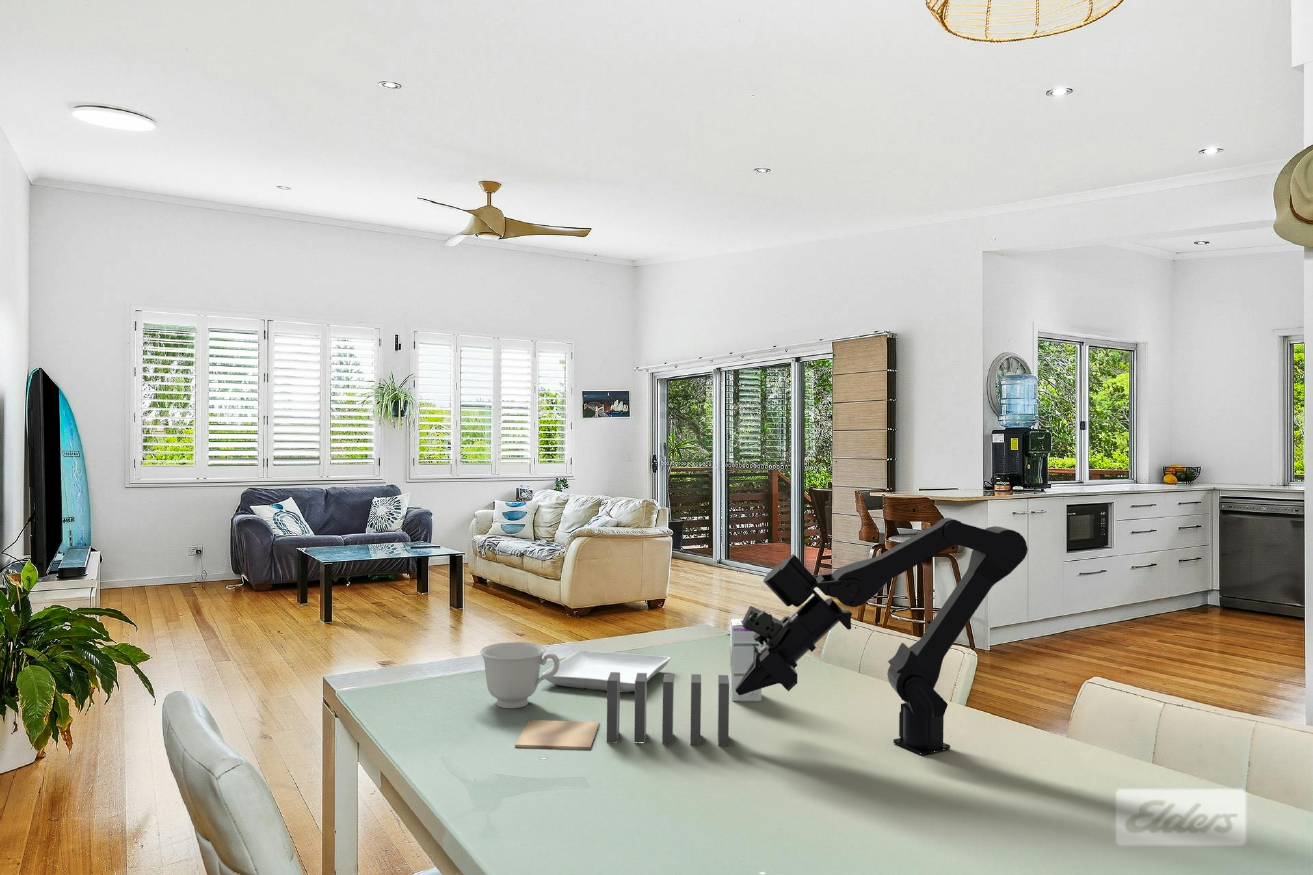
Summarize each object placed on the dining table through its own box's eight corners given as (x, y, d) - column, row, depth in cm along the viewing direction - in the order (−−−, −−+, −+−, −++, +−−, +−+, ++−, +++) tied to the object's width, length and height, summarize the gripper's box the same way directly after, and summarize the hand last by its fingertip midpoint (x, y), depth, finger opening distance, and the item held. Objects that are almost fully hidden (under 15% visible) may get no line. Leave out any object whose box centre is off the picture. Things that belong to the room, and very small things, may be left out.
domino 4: (700, 734, 141) (701, 674, 141) (700, 745, 136) (701, 682, 136) (690, 734, 141) (691, 674, 141) (690, 744, 136) (691, 682, 136)
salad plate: (539, 689, 166) (539, 672, 166) (579, 663, 187) (579, 648, 187) (641, 700, 160) (641, 682, 160) (672, 672, 180) (672, 656, 181)
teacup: (547, 717, 148) (548, 660, 148) (468, 711, 151) (469, 655, 151) (568, 697, 160) (569, 644, 160) (494, 692, 163) (495, 640, 163)
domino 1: (619, 732, 141) (620, 672, 141) (616, 742, 136) (617, 680, 136) (609, 731, 141) (610, 672, 142) (606, 742, 136) (607, 680, 137)
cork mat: (599, 724, 145) (599, 722, 145) (590, 749, 133) (590, 746, 133) (530, 722, 146) (530, 719, 146) (514, 747, 134) (515, 744, 134)
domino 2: (646, 732, 141) (646, 673, 141) (644, 743, 136) (644, 681, 136) (636, 732, 141) (637, 672, 141) (634, 743, 136) (635, 681, 136)
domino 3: (673, 733, 141) (673, 673, 141) (672, 744, 136) (672, 682, 136) (663, 733, 141) (664, 673, 141) (662, 744, 136) (663, 681, 136)
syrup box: (762, 701, 159) (762, 624, 159) (730, 701, 159) (731, 624, 159) (759, 692, 165) (759, 618, 165) (728, 692, 165) (729, 618, 165)
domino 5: (727, 735, 140) (728, 675, 141) (728, 745, 136) (729, 683, 136) (717, 734, 141) (718, 674, 141) (718, 745, 136) (719, 683, 136)
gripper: (767, 581, 147) (702, 643, 148) (777, 601, 129) (703, 671, 129) (812, 628, 147) (747, 689, 147) (828, 655, 128) (754, 725, 129)
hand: (737, 692), depth 138 cm, fingers closed
